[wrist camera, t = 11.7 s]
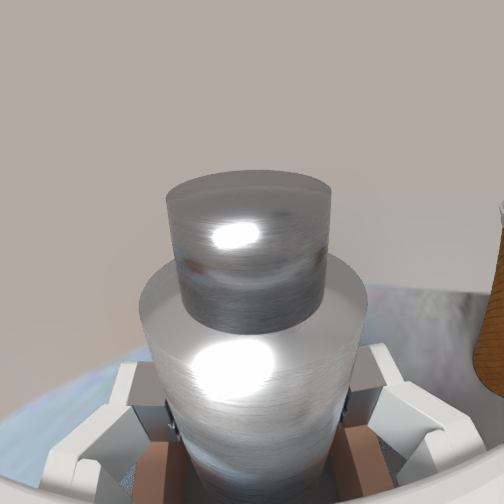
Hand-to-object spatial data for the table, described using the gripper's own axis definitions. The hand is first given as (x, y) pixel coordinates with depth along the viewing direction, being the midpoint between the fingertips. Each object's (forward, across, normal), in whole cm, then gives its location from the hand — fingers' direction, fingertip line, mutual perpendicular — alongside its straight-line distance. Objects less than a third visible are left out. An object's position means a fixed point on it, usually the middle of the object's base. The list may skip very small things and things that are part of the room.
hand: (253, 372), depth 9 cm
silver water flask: (-1, 0, +6) cm, 7 cm away
